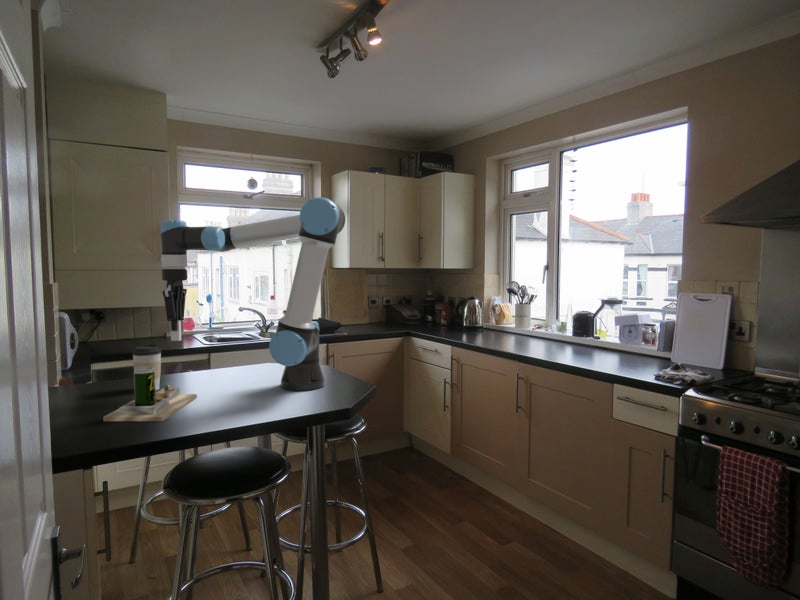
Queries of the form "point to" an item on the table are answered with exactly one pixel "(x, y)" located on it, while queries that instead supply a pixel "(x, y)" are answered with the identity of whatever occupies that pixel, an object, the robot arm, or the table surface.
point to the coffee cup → (148, 360)
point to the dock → (152, 408)
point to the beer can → (144, 386)
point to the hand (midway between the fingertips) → (176, 340)
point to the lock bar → (164, 391)
